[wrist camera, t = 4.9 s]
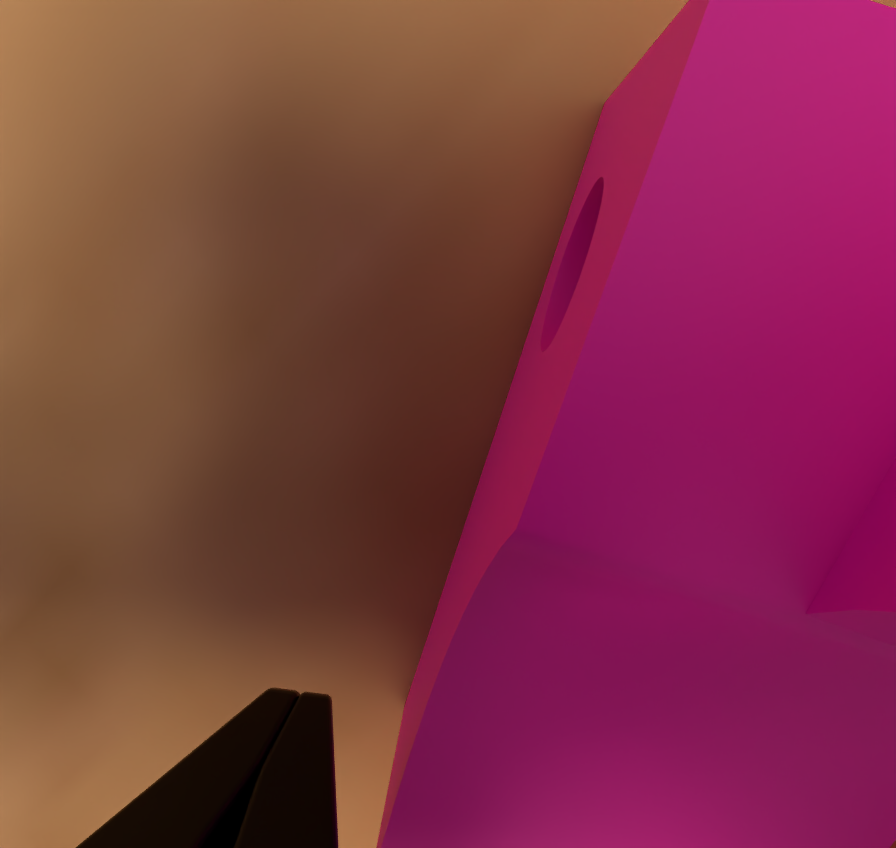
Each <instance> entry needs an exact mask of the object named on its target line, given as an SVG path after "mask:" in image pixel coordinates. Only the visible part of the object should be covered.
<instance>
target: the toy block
mask: <svg viewBox="0 0 896 848" xmlns="http://www.w3.org/2000/svg"><path fill="white" fill-rule="evenodd" d="M895 840H896V8H892V7H889V6H886V5H883V4H879V3H876V2H873V1H870V0H689V1H688V2H687V3H686V5H685V6H684V7H683V8H682V10H681V11H680V12H679V13H678V14H677V16H676V17H675V18H674V19H673V20H672V22H671V23H670V24H669V25H668V27H667V28H666V29H665V30H664V31H663V33H662V34H661V35H660V36H659V37H658V39H657V40H656V41H655V42H654V44H653V45H652V46H651V47H650V48H649V50H648V51H647V52H646V53H645V54H644V56H643V57H642V58H641V59H640V61H639V62H638V63H637V64H636V65H635V67H634V68H633V69H632V70H631V71H630V73H629V74H628V75H627V76H626V78H625V79H624V80H623V81H622V82H621V84H620V85H619V86H618V87H617V88H616V90H615V91H614V92H613V93H612V95H611V96H610V97H609V98H608V99H607V101H606V102H605V103H604V106H603V109H602V112H601V115H600V118H599V121H598V124H597V127H596V130H595V133H594V136H593V139H592V142H591V145H590V148H589V152H588V155H587V158H586V161H585V164H584V167H583V170H582V173H581V176H580V179H579V182H578V185H577V188H576V191H575V194H574V197H573V200H572V203H571V206H570V209H569V212H568V215H567V218H566V221H565V224H564V227H563V230H562V233H561V236H560V239H559V242H558V245H557V248H556V251H555V254H554V257H553V260H552V263H551V266H550V269H549V272H548V275H547V278H546V281H545V284H544V287H543V290H542V293H541V296H540V299H539V302H538V305H537V308H536V311H535V314H534V317H533V320H532V323H531V326H530V329H529V332H528V335H527V338H526V341H525V344H524V347H523V350H522V353H521V356H520V359H519V362H518V365H517V369H516V372H515V375H514V378H513V381H512V384H511V387H510V390H509V393H508V396H507V399H506V402H505V405H504V408H503V411H502V414H501V417H500V420H499V423H498V426H497V429H496V432H495V435H494V438H493V441H492V444H491V447H490V450H489V453H488V456H487V459H486V462H485V465H484V468H483V471H482V474H481V477H480V480H479V483H478V486H477V489H476V492H475V495H474V498H473V501H472V504H471V507H470V510H469V513H468V516H467V519H466V522H465V525H464V528H463V531H462V534H461V537H460V540H459V543H458V546H457V549H456V552H455V555H454V558H453V561H452V564H451V567H450V570H449V573H448V576H447V579H446V582H445V585H444V589H443V592H442V595H441V598H440V601H439V604H438V607H437V610H436V613H435V616H434V619H433V622H432V625H431V628H430V631H429V634H428V637H427V640H426V643H425V646H424V649H423V652H422V655H421V658H420V661H419V664H418V667H417V670H416V673H415V676H414V679H413V682H412V685H411V688H410V691H409V694H408V697H407V700H406V703H405V706H404V711H403V716H402V721H401V726H400V731H399V736H398V741H397V747H396V752H395V757H394V762H393V767H392V772H391V777H390V782H389V787H388V792H387V797H386V802H385V807H384V812H383V817H382V822H381V827H380V832H379V837H378V843H377V848H890V847H891V845H892V844H893V843H894V841H895Z"/></svg>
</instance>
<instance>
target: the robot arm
mask: <svg viewBox="0 0 896 848" xmlns="http://www.w3.org/2000/svg"><path fill="white" fill-rule="evenodd" d="M76 848H338V828H337V806H336V783H335V761H334V738H333V716H332V699H331V697H330V696H329V695H327V694H320V693H312V692H303V693H302V694H300V693H299V692H297V691H296V690H288V689H281V688H270V689H268V690H266V691H265V692H264V693H262V694H261V695H260V696H259V697H257V698H256V699H255V700H254V701H253V702H251V703H250V704H249V705H248V706H247V707H245V708H244V709H243V710H242V711H241V712H239V713H238V714H237V715H236V716H234V717H233V718H232V719H231V720H230V721H228V722H227V723H226V724H225V725H224V726H222V727H221V728H220V729H219V730H218V731H216V732H215V733H214V734H213V735H211V736H210V737H209V738H208V739H207V740H205V741H204V742H203V743H202V744H201V745H199V746H198V747H197V748H196V749H195V750H193V751H192V752H191V753H190V754H188V755H187V756H186V757H185V758H184V759H182V760H181V761H180V762H179V763H178V764H176V765H175V766H174V767H173V768H171V769H170V770H169V771H168V772H167V773H165V774H164V775H163V776H162V777H161V778H159V779H158V780H157V781H156V782H155V783H153V784H152V785H151V786H150V787H148V788H147V789H146V790H145V791H144V792H142V793H141V794H140V795H139V796H138V797H136V798H135V799H134V800H133V801H132V802H130V803H129V804H128V805H127V806H125V807H124V808H123V809H122V810H121V811H119V812H118V813H117V814H116V815H115V816H113V817H112V818H111V819H110V820H109V821H107V822H106V823H105V824H104V825H102V826H101V827H100V828H99V829H98V830H96V831H95V832H94V833H93V834H92V835H90V836H89V837H88V838H87V839H86V840H84V841H83V842H82V843H81V844H79V845H78V846H77V847H76Z"/></svg>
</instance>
